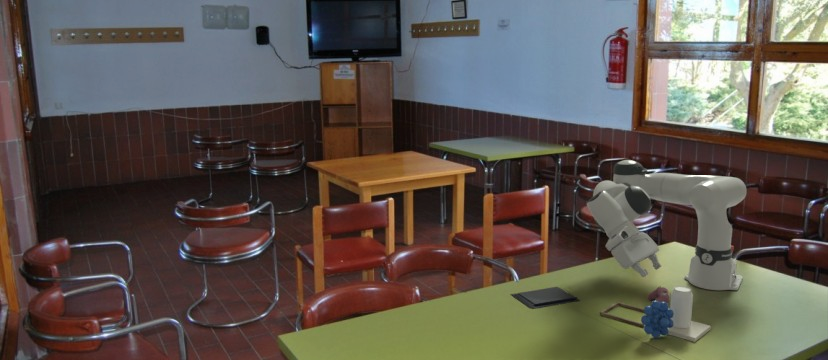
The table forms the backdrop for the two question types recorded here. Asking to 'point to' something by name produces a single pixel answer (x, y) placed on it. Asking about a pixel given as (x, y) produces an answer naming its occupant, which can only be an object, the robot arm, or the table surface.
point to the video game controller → (659, 295)
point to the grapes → (657, 319)
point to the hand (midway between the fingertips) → (652, 271)
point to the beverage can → (681, 306)
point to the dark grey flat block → (544, 297)
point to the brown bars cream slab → (688, 333)
